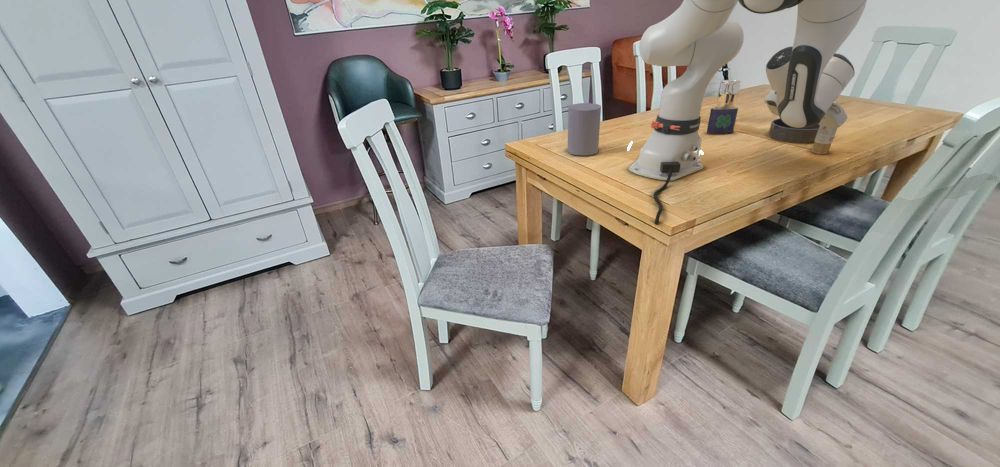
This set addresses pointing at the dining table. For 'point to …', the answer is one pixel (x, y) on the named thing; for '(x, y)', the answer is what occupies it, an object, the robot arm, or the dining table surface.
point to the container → (583, 129)
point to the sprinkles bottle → (823, 141)
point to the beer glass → (728, 93)
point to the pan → (792, 133)
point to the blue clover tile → (722, 120)
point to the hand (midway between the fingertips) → (812, 126)
